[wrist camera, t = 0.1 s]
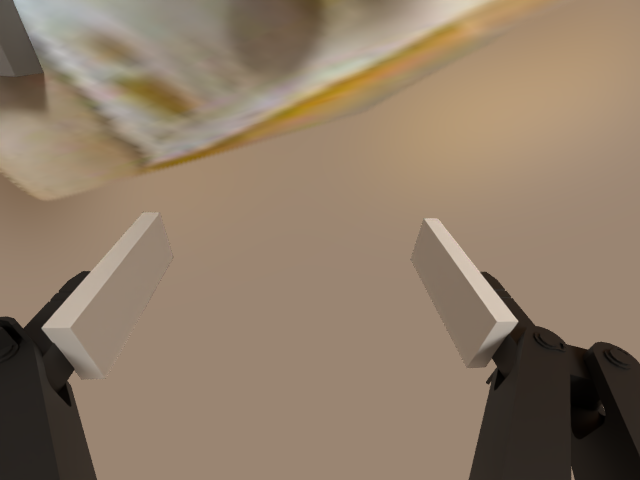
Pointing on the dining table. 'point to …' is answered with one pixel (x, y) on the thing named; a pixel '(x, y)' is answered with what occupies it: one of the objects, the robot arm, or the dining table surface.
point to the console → (15, 44)
